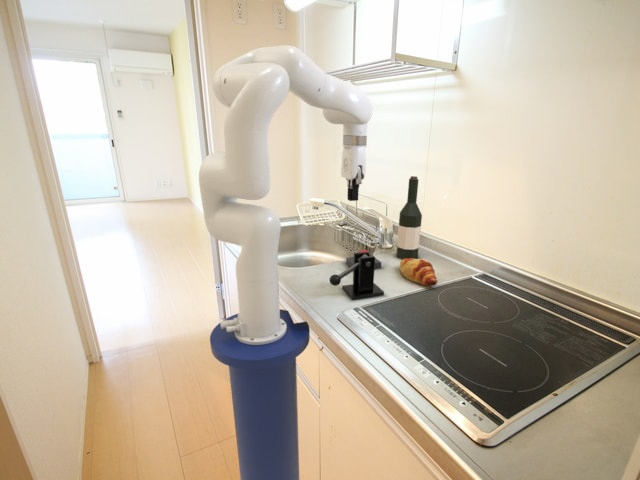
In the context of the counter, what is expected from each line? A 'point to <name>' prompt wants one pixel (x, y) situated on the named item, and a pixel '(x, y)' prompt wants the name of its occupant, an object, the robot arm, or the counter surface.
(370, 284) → the lever bracket
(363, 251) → the button
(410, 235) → the wine bottle
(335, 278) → the ball knob lever
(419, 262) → the croissant
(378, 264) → the button housing
